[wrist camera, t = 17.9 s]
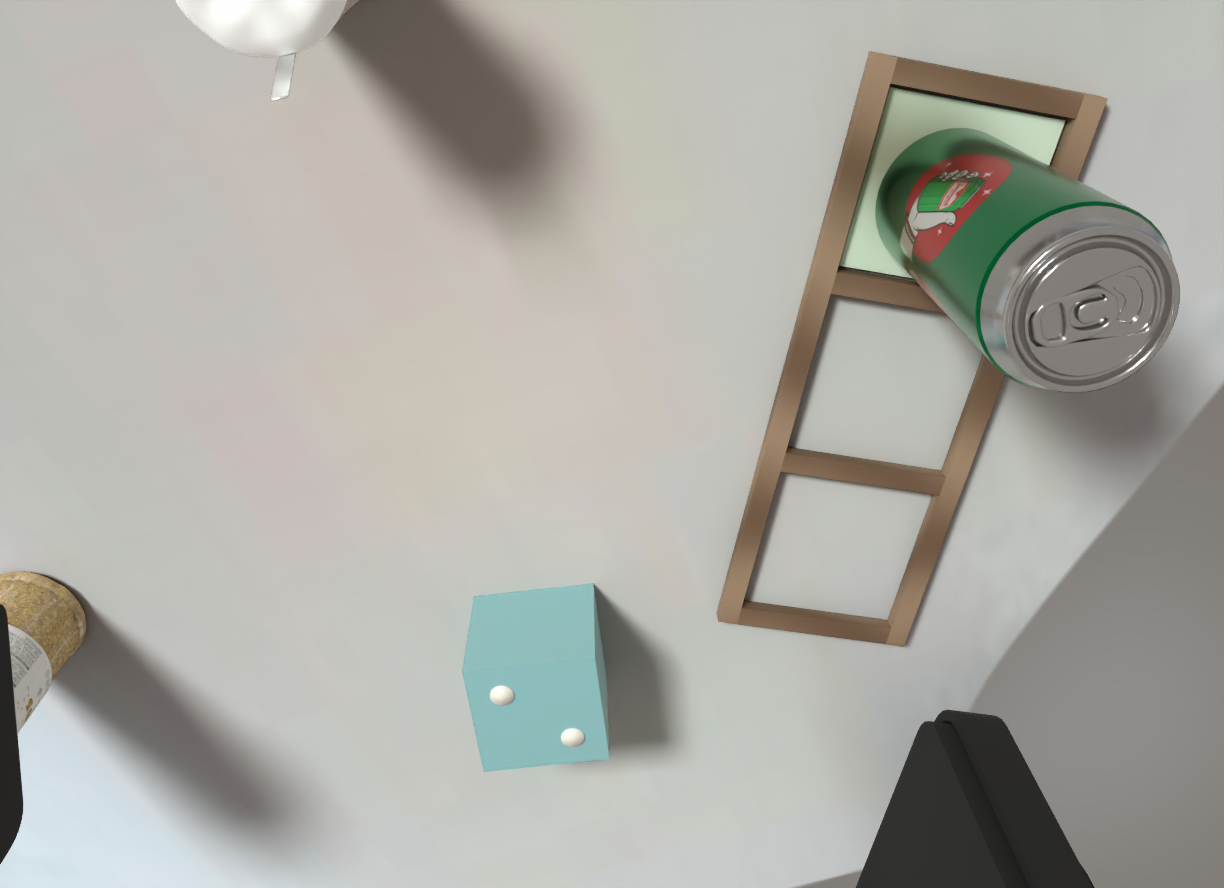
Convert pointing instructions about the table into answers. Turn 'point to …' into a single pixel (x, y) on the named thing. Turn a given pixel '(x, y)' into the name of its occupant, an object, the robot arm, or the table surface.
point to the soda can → (1029, 260)
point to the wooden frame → (854, 241)
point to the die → (537, 678)
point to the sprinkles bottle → (38, 634)
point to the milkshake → (267, 28)
